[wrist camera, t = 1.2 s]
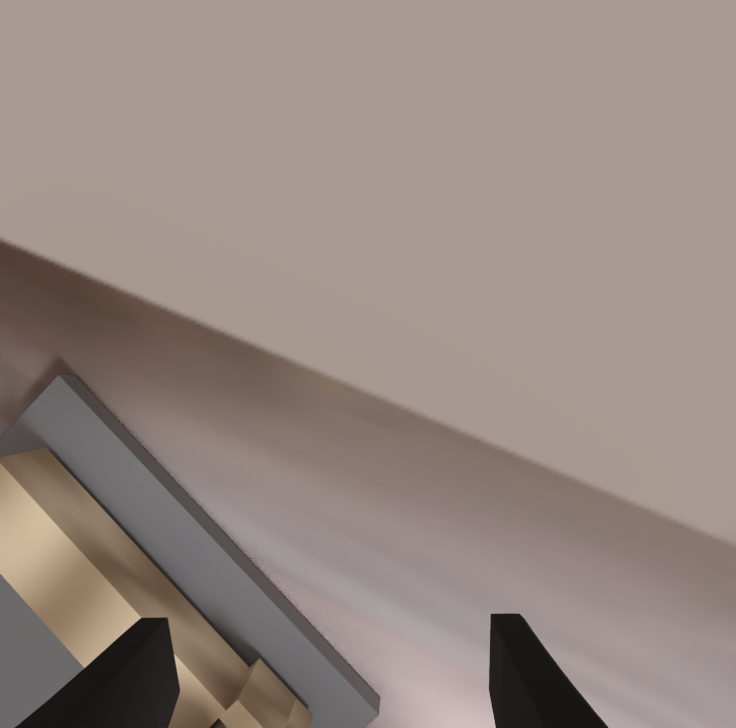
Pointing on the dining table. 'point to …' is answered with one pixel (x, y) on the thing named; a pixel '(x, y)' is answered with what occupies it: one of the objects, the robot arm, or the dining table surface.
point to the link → (121, 597)
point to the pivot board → (162, 570)
